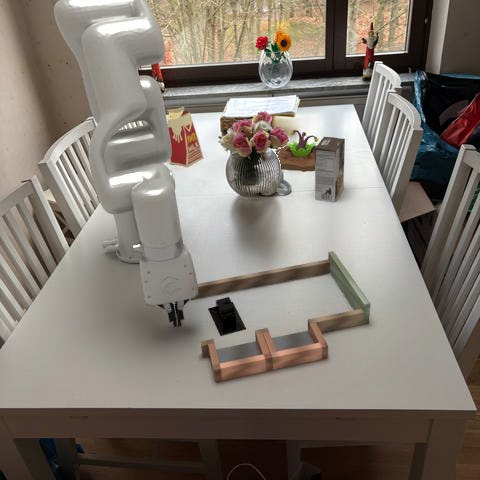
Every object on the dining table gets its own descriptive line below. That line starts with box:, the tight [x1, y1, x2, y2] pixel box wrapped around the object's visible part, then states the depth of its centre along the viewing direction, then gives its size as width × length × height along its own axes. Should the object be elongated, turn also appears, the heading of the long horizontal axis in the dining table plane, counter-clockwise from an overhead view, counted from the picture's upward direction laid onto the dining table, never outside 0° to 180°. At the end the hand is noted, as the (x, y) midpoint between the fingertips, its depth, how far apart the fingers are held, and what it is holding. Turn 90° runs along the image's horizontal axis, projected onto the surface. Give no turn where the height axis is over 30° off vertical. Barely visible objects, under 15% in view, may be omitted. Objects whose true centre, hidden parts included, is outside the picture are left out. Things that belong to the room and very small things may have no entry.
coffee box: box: [314, 136, 346, 203], centre depth 142 cm, size 9×6×16 cm
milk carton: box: [167, 106, 204, 168], centre depth 172 cm, size 9×9×20 cm
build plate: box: [207, 296, 247, 337], centre depth 101 cm, size 12×7×5 cm, turn 18°
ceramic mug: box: [261, 169, 292, 196], centre depth 149 cm, size 11×8×8 cm
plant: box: [274, 129, 319, 173], centre depth 167 cm, size 20×20×11 cm
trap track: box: [190, 250, 371, 383], centre depth 99 cm, size 33×26×5 cm
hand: (177, 322), depth 99 cm, fingers closed
